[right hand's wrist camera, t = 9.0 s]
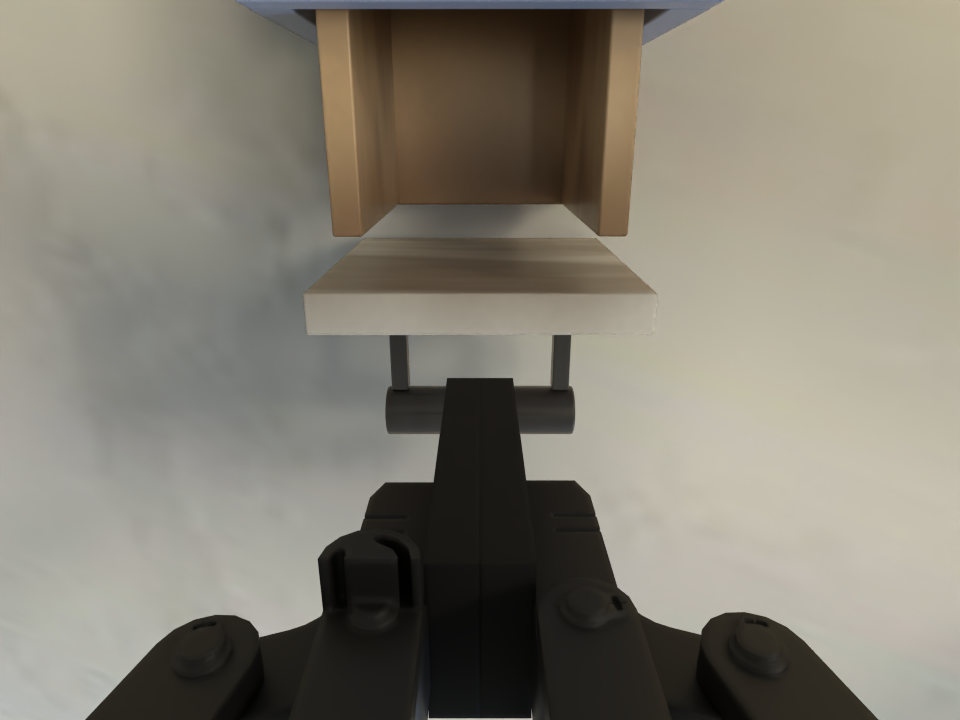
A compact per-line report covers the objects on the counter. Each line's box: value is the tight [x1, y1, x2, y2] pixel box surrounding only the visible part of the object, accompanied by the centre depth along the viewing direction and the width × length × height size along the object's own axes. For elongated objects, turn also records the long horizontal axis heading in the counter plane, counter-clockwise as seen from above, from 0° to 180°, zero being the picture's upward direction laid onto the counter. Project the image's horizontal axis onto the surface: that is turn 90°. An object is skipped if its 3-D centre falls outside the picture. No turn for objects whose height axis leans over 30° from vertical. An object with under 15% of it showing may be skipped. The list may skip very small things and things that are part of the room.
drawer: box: [303, 9, 657, 434], centre depth 20 cm, size 22×10×10 cm, turn 0°
